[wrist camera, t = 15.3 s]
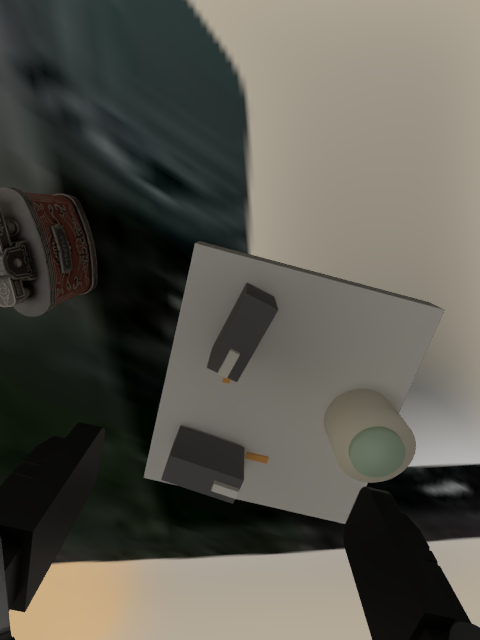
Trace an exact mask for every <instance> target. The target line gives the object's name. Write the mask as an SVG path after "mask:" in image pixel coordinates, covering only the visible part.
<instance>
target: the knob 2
mask: <svg viewBox="0 0 480 640" xmlns="http://www.w3.org/2000/svg"><path fill="white" fill-rule="evenodd" d="M277 312H278V307H277V304H276V301H275V297H274V296H272V295H270V294H268V293H266V292H264V291H263V290H261V289H259V288H257V287H255V286H253V285H251V284H249V283H246V285H245V286H244V288H243V290H242V292H241V294H240V296H239V298H238V300H237V301H236V303H235V305H234V307H233V309H232V311H231V313H230V315H229V317H228V318H227V320H226V322H225V324H224V326H223V328H222V330H221V332H220V334H219V335H218V337H217V339H216V341H215V343H214V345H213V347H212V350H211V353H210V357H209V361H208V364H207V368H208V369H210V370H212V371H214V372H216V373H218V375H220V376H222V377H224V378H226V379H227V378H229V379H231V380H233V381H235V382H238V380H239V378H240V376H241V375H242V373H243V371H244V369H245V368H246V366H247V364H248V362H249V361H250V359H251V357H252V355H253V354H254V352H255V350H256V348H257V347H258V345H259V343H260V341H261V340H262V338H263V336H264V334H265V333H266V331H267V329H268V327H269V326H270V324H271V322H272V320H273V319H274V317H275V315H276V313H277Z"/></svg>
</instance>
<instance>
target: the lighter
mask: <svg viewBox="0 0 480 640" xmlns="http://www.w3.org/2000/svg"><path fill="white" fill-rule="evenodd" d="M96 285H97V259H96V252H95V245H94V241H93V237H92V233H91V230H90V226H89V223H88V221H87V218H86V216H85V213H84V211H83V208H82V206H81V204H80V202H79V200H77V199H76V198H75V197H73V196H71V195H68V194H54V195H46V194H36V193H27V192H23V191H21V190H18V189H16V188H8V187H0V306H1V307H11V306H13V307H14V308H15V310H16V311H18V312H19V313H21V314H23V315H26V316H31V317H35V316H39V315H42V314H44V313H46V312H48V311H50V310H51V309H52V308H53V307H54V306H55V305H57V304H59V303H62V302H64V301H66V300H68V299H70V298H72V297H75V296H77V295H83V294H86V293H88V292H90V291H92V290H93V289H94V288H95V287H96Z"/></svg>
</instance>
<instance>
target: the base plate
mask: <svg viewBox="0 0 480 640" xmlns="http://www.w3.org/2000/svg"><path fill="white" fill-rule="evenodd" d="M246 283H249V284H251V285H253V286H255V287H257V288H259V289H261V290H263V291H264V292H266V293H268V294H270V295H272V296H274V297H275V301H276V304H277V307H278V312H277V313H276V315H275V317H274V319H273V320H272V322H271V324H270V326H269V327H268V329H267V331H266V333H265V334H264V336H263V338H262V340H261V341H260V343H259V345H258V347H257V348H256V350H255V352H254V354H253V355H252V357H251V359H250V361H249V362H248V364H247V366H246V368H245V369H244V371H243V373H242V375H241V376H240V378H239V380H238V382H235V381H233V380H231V379H229V378H227V379H226V378H224V377H222V376H220V375H218V373H216V372H214V371H212V370H210V369H208V368H207V364H208V361H209V357H210V353H211V350H212V347H213V345H214V343H215V341H216V339H217V337H218V335H219V334H220V332H221V330H222V328H223V326H224V324H225V322H226V320H227V318H228V317H229V315H230V313H231V311H232V309H233V307H234V305H235V303H236V301H237V300H238V298H239V296H240V294H241V292H242V290H243V288H244V286H245V285H246ZM443 313H444V309H442V308H440V307H438V306H436V305H433V304H431V303H429V302H426V301H422V300H418V299H415V298H411V297H407V296H403V295H400V294H396V293H392V292H388V291H385V290H381V289H377V288H373V287H369V286H366V285H362V284H358V283H354V282H351V281H347V280H343V279H339V278H336V277H332V276H328V275H325V274H321V273H317V272H313V271H310V270H306V269H302V268H298V267H295V266H291V265H287V264H284V263H280V262H276V261H272V260H268V259H264V258H260V257H257V256H254V255H250V254H246V253H242V252H239V251H235V250H231V249H227V248H224V247H220V246H216V245H212V244H209V243H205V242H201V241H199V242H197V243H195V246H194V251H193V255H192V260H191V264H190V269H189V274H188V278H187V283H186V287H185V292H184V296H183V301H182V305H181V310H180V315H179V319H178V324H177V328H176V333H175V337H174V342H173V346H172V351H171V356H170V360H169V365H168V369H167V374H166V378H165V383H164V387H163V392H162V397H161V401H160V406H159V410H158V415H157V419H156V424H155V428H154V433H153V438H152V442H151V447H150V451H149V456H148V460H147V465H146V469H145V474H144V478H148V479H152V480H156V481H161V482H165V483H169V482H166V481H163V480H161V478H162V475H163V472H164V469H165V466H166V463H167V460H168V457H169V454H170V451H171V448H172V446H173V443H174V440H175V438H176V435H177V433H178V430H179V427H180V426H183V427H186V428H189V429H192V430H194V431H197V432H200V433H203V434H206V435H209V436H212V437H215V438H218V439H220V440H223V441H226V442H229V443H232V444H235V445H238V446H241V447H244V481H243V483H242V486H241V488H240V490H239V493H238V495H237V497H236V499H239V500H243V501H248V502H252V503H256V504H261V505H265V506H269V507H274V508H278V509H282V510H287V511H291V512H295V513H300V514H304V515H308V516H313V517H317V518H321V519H326V520H330V521H335V522H339V523H343V524H346V521H347V519H348V517H349V514H350V512H351V510H352V507H353V505H354V503H355V500H356V498H357V496H358V493H359V491H360V490H361V488H362V487H366V485H367V483H368V482H370V483H373V482H382V481H386V480H389V479H391V478H393V477H395V476H397V475H398V474H400V473H401V472H402V471H404V470H405V469H406V468H407V467H408V465H409V464H410V462H411V461H412V459H413V456H414V454H415V449H416V448H415V447H416V442H415V438H414V435H413V433H412V431H411V429H410V428H409V427H408V425H407V424H406V423H405V421H404V420H403V419H402V417H401V416H400V415H399V411H400V409H401V407H402V405H403V402H404V400H405V398H406V395H407V393H408V391H409V389H410V386H411V384H412V382H413V380H414V378H415V375H416V373H417V371H418V369H419V366H420V364H421V362H422V360H423V357H424V355H425V353H426V351H427V349H428V346H429V344H430V342H431V339H432V337H433V335H434V333H435V331H436V328H437V326H438V324H439V322H440V319H441V316H442V315H443ZM169 484H172V483H169ZM174 485H175V484H174Z"/></svg>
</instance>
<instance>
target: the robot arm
mask: <svg viewBox="0 0 480 640" xmlns="http://www.w3.org/2000/svg"><path fill="white" fill-rule="evenodd" d="M104 436H105V428H102V427H98V426H93V425H89V424H84V423H78V424H77V425H76V426H75V427H74V428H73V429H72V431H71V432H70V433H69V434H68V436H67V437H66V438H61V437H56V436H53V437H51V438H50V439H48V440H46V441H44V442H43V443H41V444H39V445H37V446H36V447H35V448H34V449H33V450H32V451H31V453H30V454H29V455H28V456H27V457H26V458H25V459H24V461H23V463H21V464H20V465H19V466H18V467H17V468H16V469H15V470H14V472H13V474H11V475H10V476H9V477H8V478H7V479H6V480H5V481H4V483H3V484H2V485H1V486H0V640H15V638H14V637H12V636H11V631H10V623H9V610H10V609H11V610H17V611H21V612H25V611H26V609H27V607H28V606H29V604H30V602H31V600H32V598H33V596H34V595H35V593H36V591H37V589H38V587H39V585H40V584H41V582H42V580H43V578H44V577H45V575H46V573H47V571H48V569H49V568H50V566H51V564H52V562H53V560H54V559H55V557H56V555H57V553H58V551H59V549H60V548H61V546H62V544H63V542H64V540H65V539H66V537H67V535H68V533H69V531H70V530H71V528H72V526H73V524H74V522H75V521H76V519H77V517H78V515H79V513H80V511H81V510H82V508H83V506H84V504H85V502H86V501H87V499H88V497H89V495H90V493H91V491H92V489H93V487H94V485H95V482H96V479H97V476H98V472H99V467H100V460H101V454H102V448H103V442H104ZM344 546H345V550H346V553H347V556H348V560H349V563H350V566H351V570H352V573H353V576H354V580H355V583H356V587H357V590H358V593H359V596H360V600H361V603H362V607H363V610H364V613H365V617H366V620H367V623H368V627H369V630H370V633H371V636H372V640H480V628H479V627H478V626H476V625H474V624H472V623H471V622H470V620H469V618H468V616H467V614H466V613H465V611H464V609H463V607H462V605H461V604H460V602H459V600H458V598H457V596H456V595H455V593H454V591H453V589H452V587H451V585H450V584H449V582H448V580H447V578H446V576H445V575H444V573H443V571H442V569H441V568H440V566H438V564H437V560H436V558H435V557H434V555H433V553H432V551H430V550H429V546H428V544H427V542H426V540H425V538H424V537H423V535H422V533H421V531H420V530H419V528H418V527H417V526H416V525H415V524H414V523H413V522H412V521H411V520H410V518H409V517H408V516H407V515H406V514H404V513H401V512H400V510H399V508H398V506H397V504H396V502H395V500H394V498H393V496H392V495H391V494H390V493H389V492H387V491H383V490H378V489H374V488H369V487H362V488H361V490H360V491H359V493H358V496H357V498H356V500H355V503H354V505H353V507H352V510H351V512H350V514H349V517H348V519H347V521H346V524H345V527H344Z"/></svg>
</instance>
